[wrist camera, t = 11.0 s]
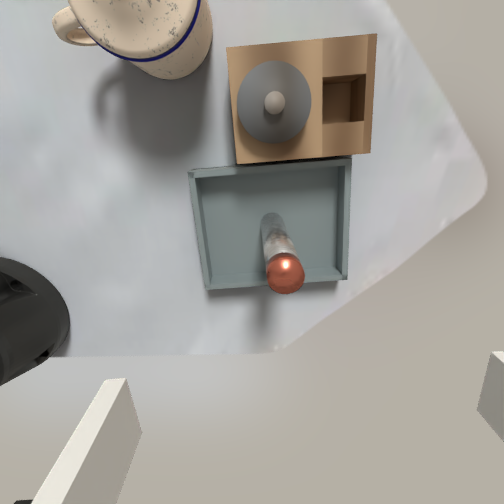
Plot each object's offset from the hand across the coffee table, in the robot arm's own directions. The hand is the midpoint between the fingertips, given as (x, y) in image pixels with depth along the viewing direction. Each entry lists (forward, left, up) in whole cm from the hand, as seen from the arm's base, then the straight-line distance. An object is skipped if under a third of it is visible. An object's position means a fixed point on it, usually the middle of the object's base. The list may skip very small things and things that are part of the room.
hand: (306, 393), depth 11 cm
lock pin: (0, 0, -24) cm, 24 cm away
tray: (0, 0, -25) cm, 25 cm away
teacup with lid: (-10, +19, -25) cm, 33 cm away
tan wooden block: (+3, +11, -25) cm, 27 cm away
